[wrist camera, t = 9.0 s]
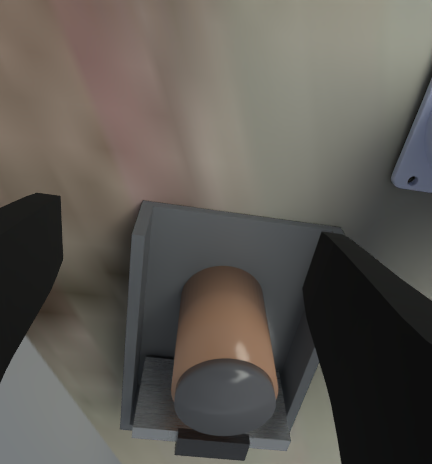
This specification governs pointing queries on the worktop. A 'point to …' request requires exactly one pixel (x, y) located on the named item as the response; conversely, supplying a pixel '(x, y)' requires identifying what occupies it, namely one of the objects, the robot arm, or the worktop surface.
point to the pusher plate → (187, 439)
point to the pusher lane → (209, 255)
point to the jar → (223, 354)
